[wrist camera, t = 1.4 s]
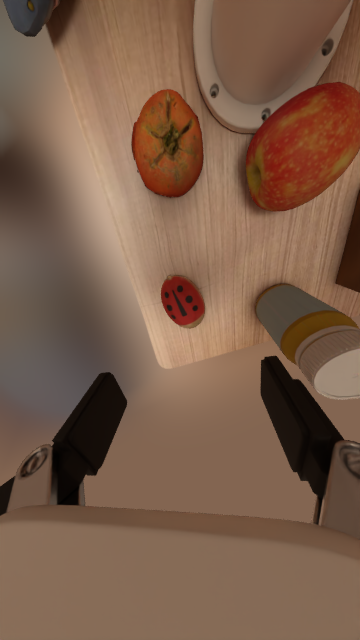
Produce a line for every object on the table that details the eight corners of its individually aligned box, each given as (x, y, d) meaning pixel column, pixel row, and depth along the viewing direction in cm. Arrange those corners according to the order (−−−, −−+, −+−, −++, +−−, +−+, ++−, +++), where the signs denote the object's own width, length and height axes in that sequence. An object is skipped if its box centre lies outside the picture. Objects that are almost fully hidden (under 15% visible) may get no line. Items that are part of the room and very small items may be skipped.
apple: (234, 146, 18) (259, 92, 11) (321, 100, 16) (420, -5, 9) (247, 224, 21) (271, 220, 14) (319, 194, 19) (390, 173, 12)
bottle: (310, 291, 25) (438, 359, 12) (281, 327, 28) (355, 410, 15) (270, 276, 24) (356, 329, 11) (245, 314, 27) (290, 389, 14)
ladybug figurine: (180, 329, 30) (178, 340, 27) (151, 284, 26) (145, 291, 23) (212, 315, 28) (214, 325, 25) (186, 264, 24) (185, 269, 21)
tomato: (182, 218, 20) (139, 167, 14) (153, 201, 23) (108, 154, 17) (224, 151, 18) (194, 54, 12) (186, 142, 21) (147, 63, 15)
